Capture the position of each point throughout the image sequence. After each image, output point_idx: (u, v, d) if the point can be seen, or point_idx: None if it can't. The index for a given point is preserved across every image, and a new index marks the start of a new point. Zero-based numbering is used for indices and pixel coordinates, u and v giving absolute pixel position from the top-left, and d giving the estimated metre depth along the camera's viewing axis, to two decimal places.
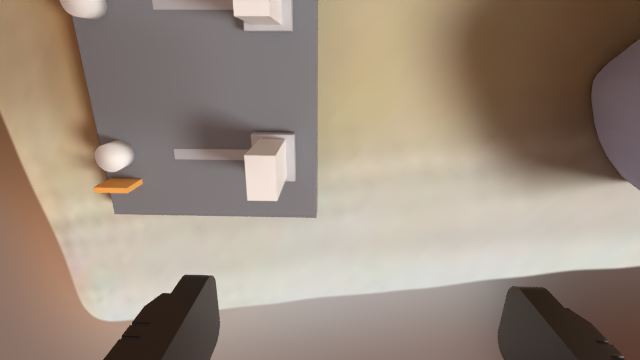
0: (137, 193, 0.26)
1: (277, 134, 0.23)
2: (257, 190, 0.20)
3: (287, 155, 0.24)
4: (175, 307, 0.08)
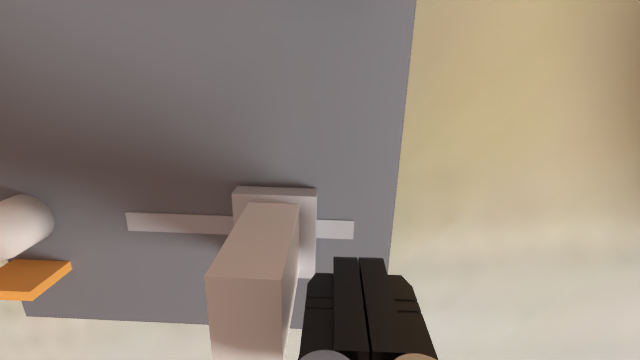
0: (63, 284, 0.15)
1: (283, 194, 0.12)
2: (236, 349, 0.08)
3: (302, 233, 0.12)
4: (346, 282, 0.09)
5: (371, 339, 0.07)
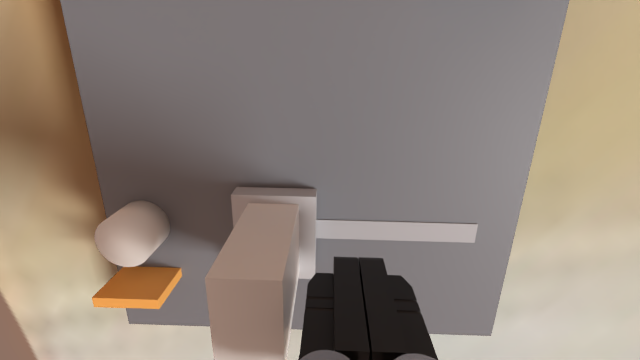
0: (171, 291, 0.14)
1: (283, 194, 0.12)
2: (238, 351, 0.08)
3: (301, 233, 0.12)
4: (346, 282, 0.09)
5: (371, 339, 0.07)
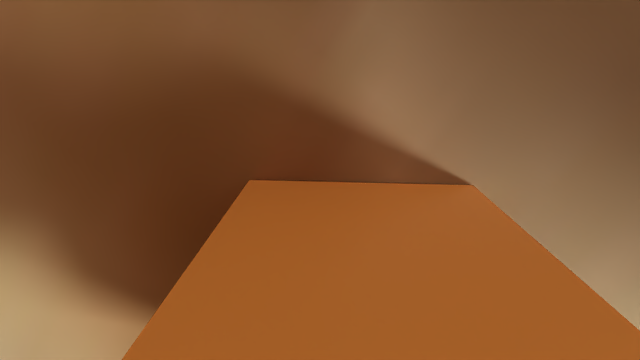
0: None
1: None
2: None
3: None
4: None
5: None
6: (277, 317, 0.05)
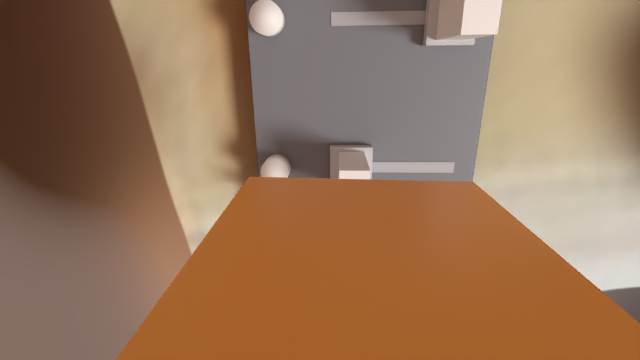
0: None
1: (356, 147, 0.24)
2: None
3: None
4: None
5: None
6: (277, 311, 0.04)
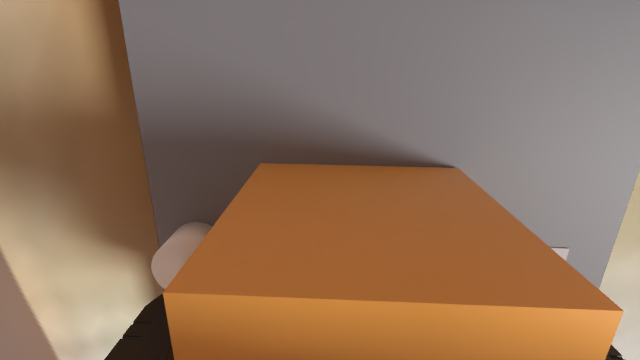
0: None
1: None
2: None
3: None
4: None
5: None
6: (288, 255, 0.06)
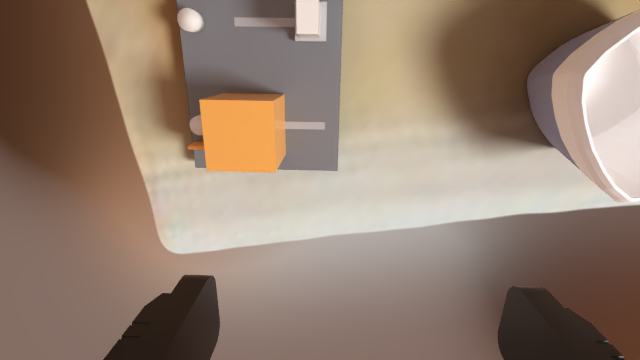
0: None
1: None
2: None
3: None
4: (175, 307, 0.08)
5: None
6: (222, 98, 0.30)
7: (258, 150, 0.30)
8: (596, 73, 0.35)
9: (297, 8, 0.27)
